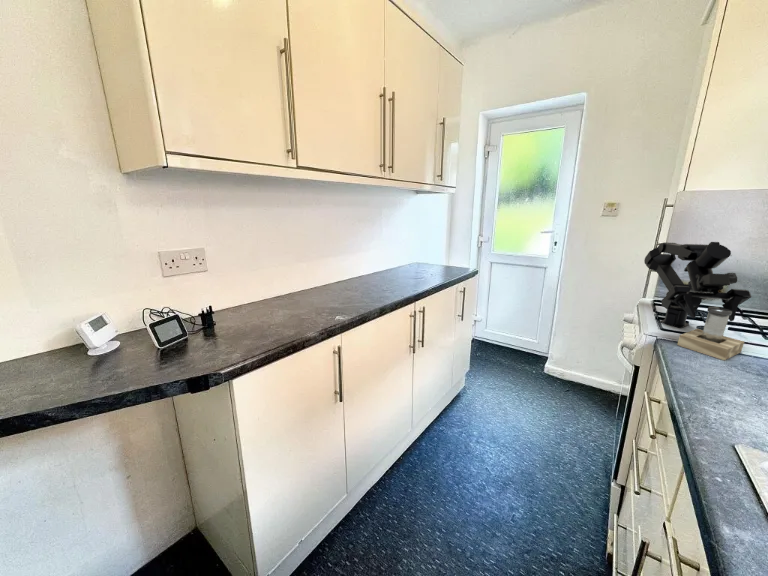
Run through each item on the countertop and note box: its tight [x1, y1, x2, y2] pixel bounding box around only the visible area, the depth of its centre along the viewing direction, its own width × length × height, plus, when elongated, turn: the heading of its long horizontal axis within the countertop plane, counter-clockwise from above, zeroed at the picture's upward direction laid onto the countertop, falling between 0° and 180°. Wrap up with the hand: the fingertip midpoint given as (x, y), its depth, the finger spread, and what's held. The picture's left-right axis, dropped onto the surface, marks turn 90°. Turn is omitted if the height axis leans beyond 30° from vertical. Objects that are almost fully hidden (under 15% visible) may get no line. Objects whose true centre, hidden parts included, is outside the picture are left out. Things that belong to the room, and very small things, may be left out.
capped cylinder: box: [701, 306, 732, 343], centre depth 96 cm, size 5×5×13 cm
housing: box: [676, 328, 745, 361], centre depth 97 cm, size 11×11×4 cm
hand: (712, 319), depth 97 cm, fingers open, 9 cm apart
